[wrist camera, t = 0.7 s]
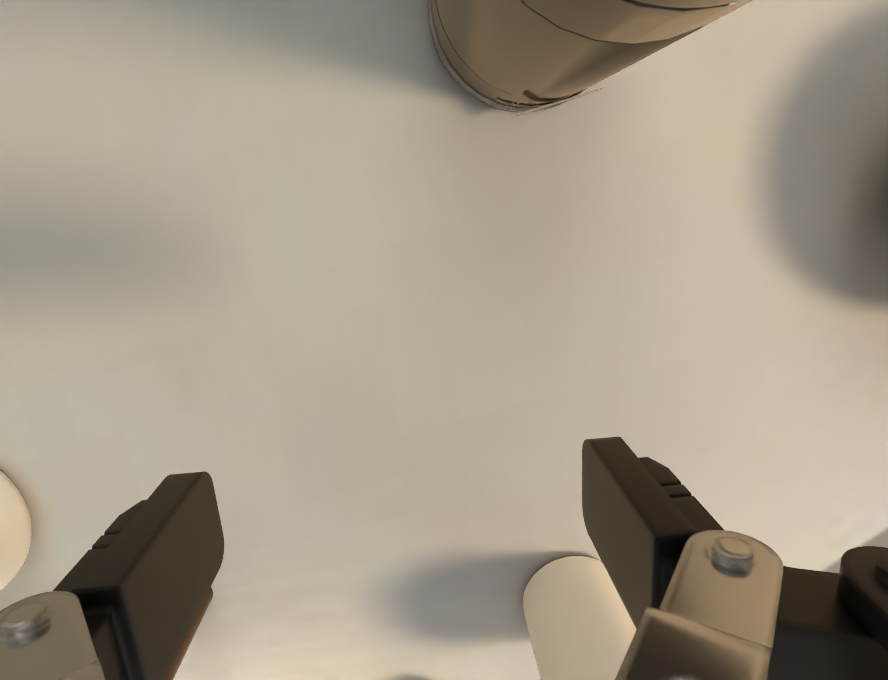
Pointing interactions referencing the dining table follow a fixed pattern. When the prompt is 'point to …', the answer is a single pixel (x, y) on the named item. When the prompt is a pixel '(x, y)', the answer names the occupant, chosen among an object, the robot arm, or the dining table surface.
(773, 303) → the dining table surface
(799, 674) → the robot arm
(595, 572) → the can
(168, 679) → the post
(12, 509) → the cup
